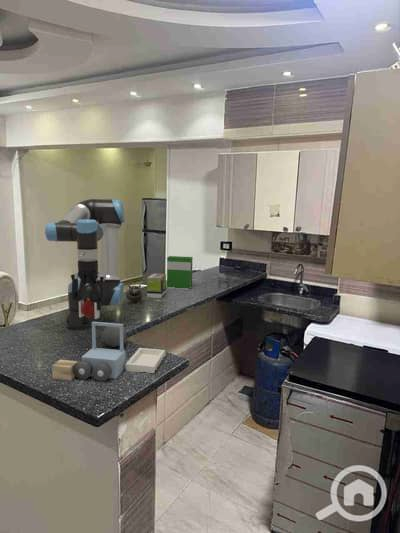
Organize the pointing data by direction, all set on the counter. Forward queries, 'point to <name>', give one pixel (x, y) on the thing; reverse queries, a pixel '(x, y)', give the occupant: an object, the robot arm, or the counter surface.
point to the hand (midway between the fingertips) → (89, 317)
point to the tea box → (156, 285)
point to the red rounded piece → (88, 308)
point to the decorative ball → (113, 336)
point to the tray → (145, 360)
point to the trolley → (102, 359)
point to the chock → (64, 370)
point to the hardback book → (179, 272)
